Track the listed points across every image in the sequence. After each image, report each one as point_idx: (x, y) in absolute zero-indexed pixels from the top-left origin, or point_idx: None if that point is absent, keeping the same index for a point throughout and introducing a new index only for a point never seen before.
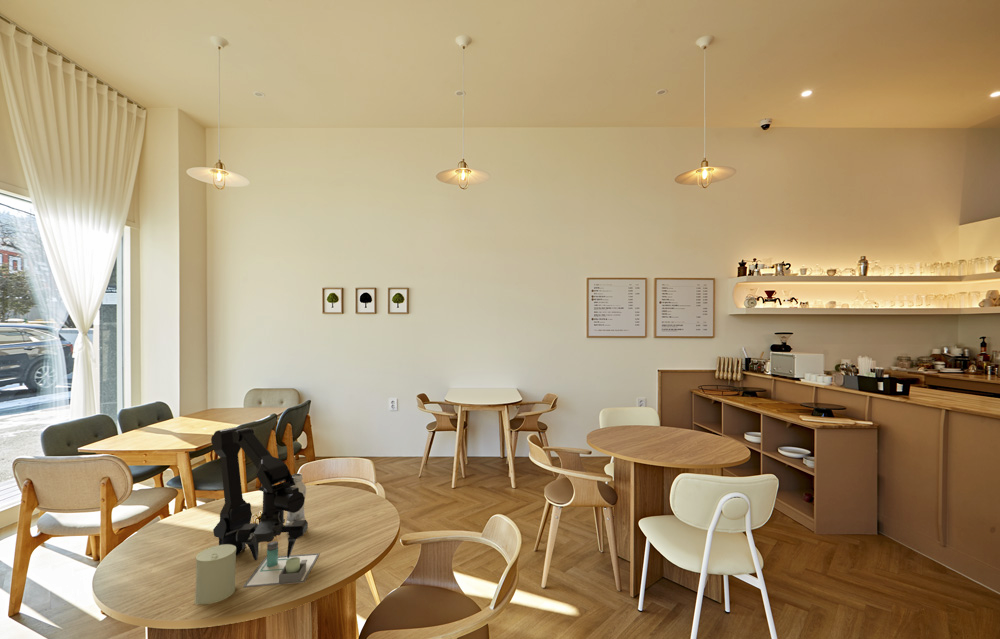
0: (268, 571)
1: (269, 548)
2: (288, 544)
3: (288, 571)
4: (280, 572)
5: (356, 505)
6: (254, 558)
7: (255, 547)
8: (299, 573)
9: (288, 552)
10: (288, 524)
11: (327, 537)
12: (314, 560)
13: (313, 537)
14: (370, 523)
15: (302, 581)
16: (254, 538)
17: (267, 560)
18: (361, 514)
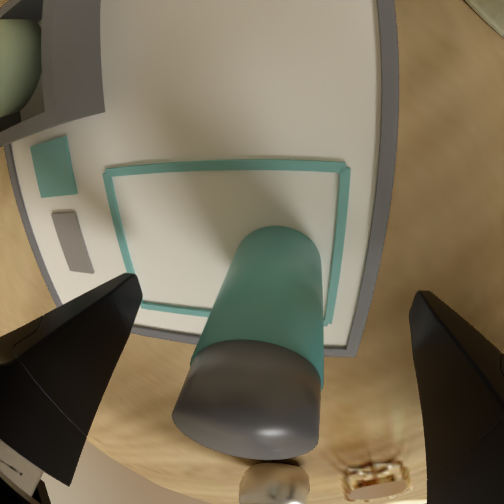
0: (263, 145)
1: (270, 369)
2: (30, 345)
3: (9, 19)
4: (146, 120)
5: (171, 480)
6: (437, 301)
7: (463, 397)
8: None
9: (94, 297)
10: (291, 496)
11: (138, 416)
12: (37, 252)
13: None
14: None
15: None
16: (494, 499)
17: (308, 269)
18: (131, 456)
